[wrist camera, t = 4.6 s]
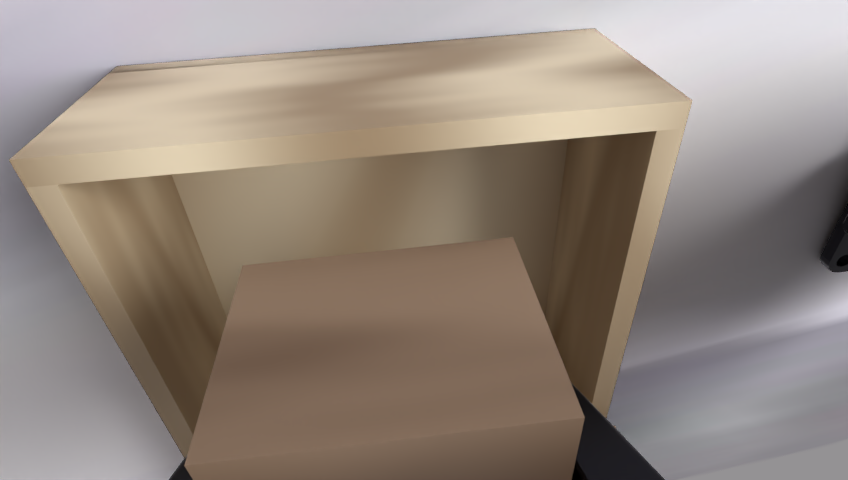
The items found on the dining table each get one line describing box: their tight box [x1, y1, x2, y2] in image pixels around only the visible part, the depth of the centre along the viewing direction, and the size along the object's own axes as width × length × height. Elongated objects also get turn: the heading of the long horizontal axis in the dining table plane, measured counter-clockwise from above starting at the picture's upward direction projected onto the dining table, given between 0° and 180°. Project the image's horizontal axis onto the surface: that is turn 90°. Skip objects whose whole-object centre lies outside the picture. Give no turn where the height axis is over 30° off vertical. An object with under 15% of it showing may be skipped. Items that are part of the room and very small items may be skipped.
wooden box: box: [9, 28, 692, 458], centre depth 13 cm, size 11×10×4 cm
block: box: [184, 237, 585, 480], centre depth 9 cm, size 4×4×4 cm
